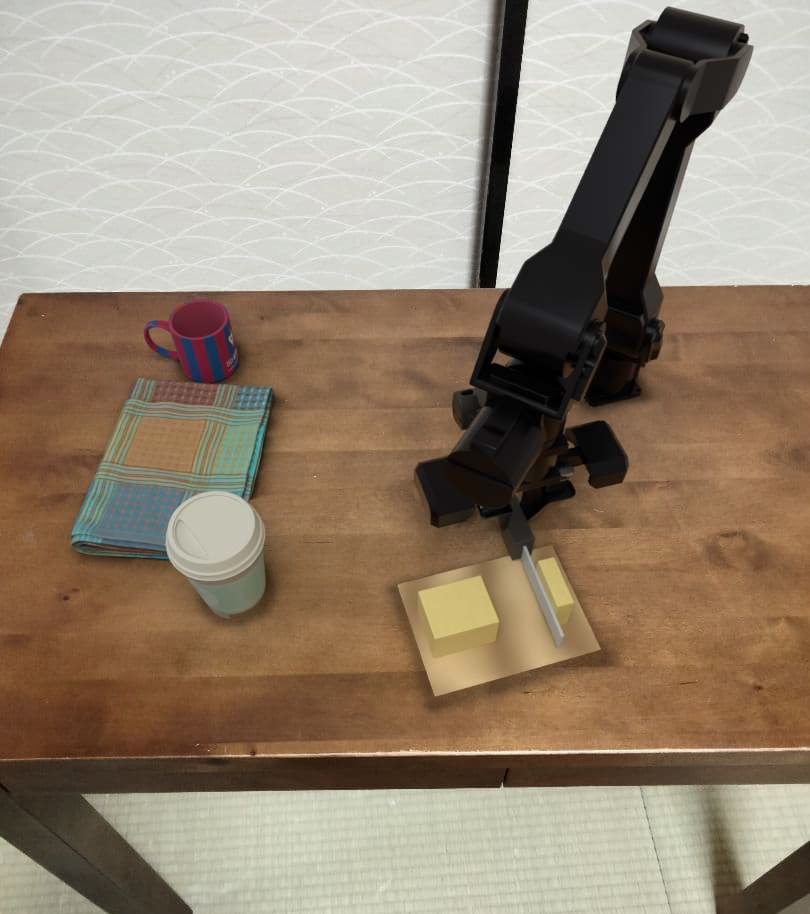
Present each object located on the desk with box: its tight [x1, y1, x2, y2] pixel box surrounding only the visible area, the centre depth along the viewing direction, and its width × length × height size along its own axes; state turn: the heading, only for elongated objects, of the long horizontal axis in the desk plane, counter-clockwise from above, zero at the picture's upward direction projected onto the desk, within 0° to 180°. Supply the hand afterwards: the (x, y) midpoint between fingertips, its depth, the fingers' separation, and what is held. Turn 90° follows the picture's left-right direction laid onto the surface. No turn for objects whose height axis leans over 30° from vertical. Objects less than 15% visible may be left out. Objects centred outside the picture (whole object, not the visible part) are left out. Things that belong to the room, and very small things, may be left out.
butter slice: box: [536, 557, 574, 625], centre depth 75 cm, size 2×5×4 cm, turn 15°
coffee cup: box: [166, 491, 267, 620], centre depth 74 cm, size 8×8×12 cm
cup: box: [143, 298, 240, 384], centre depth 94 cm, size 7×10×7 cm
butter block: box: [418, 575, 499, 658], centre depth 74 cm, size 6×5×4 cm
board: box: [396, 544, 602, 697], centre depth 77 cm, size 16×12×2 cm
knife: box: [499, 493, 564, 648], centre depth 77 cm, size 2×17×3 cm, turn 15°
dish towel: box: [69, 376, 275, 561], centre depth 87 cm, size 17×23×2 cm
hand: (511, 524), depth 80 cm, fingers closed on knife, 2 cm apart
